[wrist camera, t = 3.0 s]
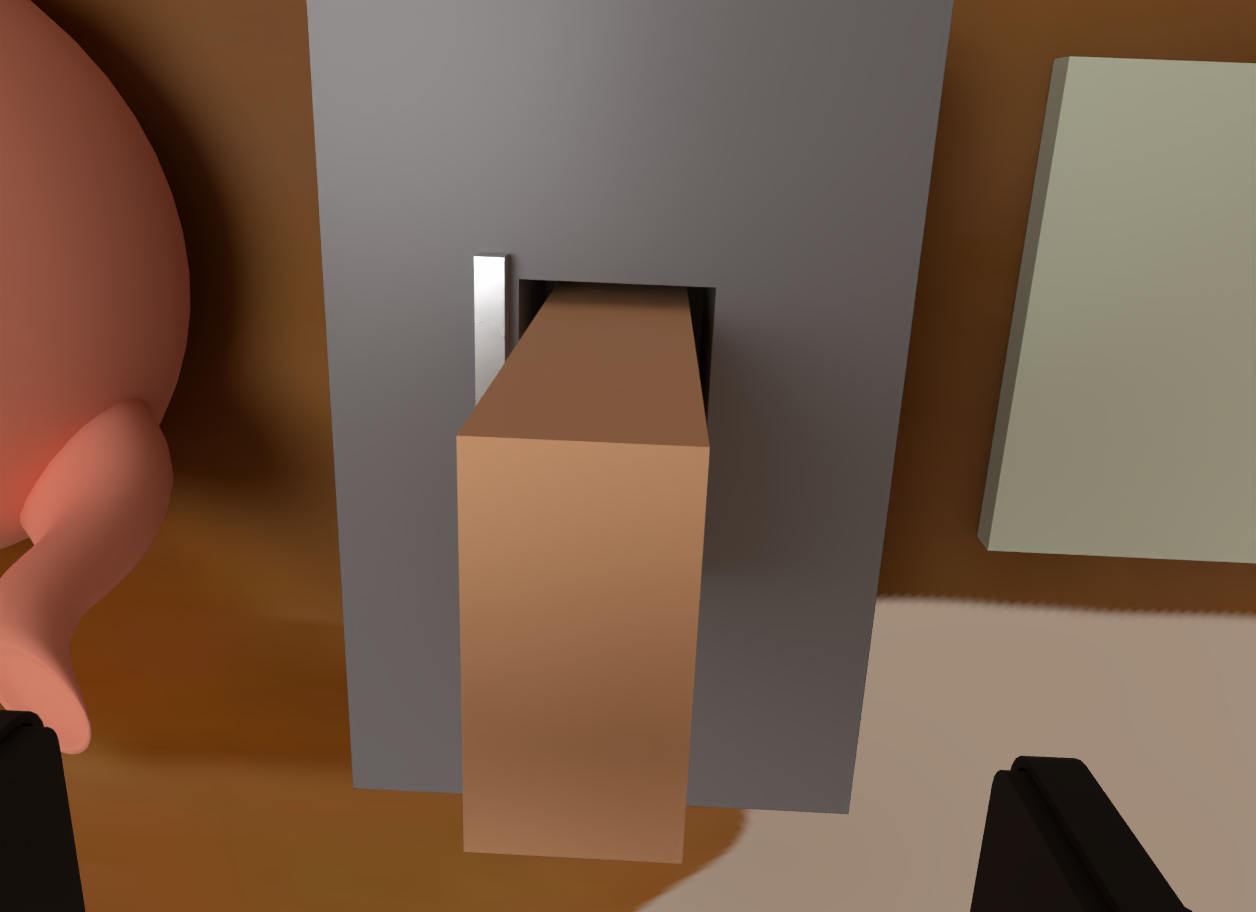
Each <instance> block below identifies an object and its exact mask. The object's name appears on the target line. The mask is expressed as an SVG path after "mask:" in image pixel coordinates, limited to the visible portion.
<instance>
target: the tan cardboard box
mask: <svg viewBox="0 0 1256 912" xmlns="http://www.w3.org/2000/svg"><path fill="white" fill-rule="evenodd" d="M456 441H457V496H458V552H459V607H460V662H461V718H462V773H463V828H464V852H478V853H497V854H515V855H533V856H552V857H570V858H589V859H607V860H626V861H644V862H663V863H681V864H682V856H683V841H684V826H685V811H686V796H687V781H688V766H689V751H690V736H691V721H692V706H693V691H694V676H695V661H696V646H697V631H698V616H699V601H700V587H701V572H702V557H703V542H704V527H705V512H706V497H707V482H708V467H709V452H710V445H709V438H708V431H707V424H706V417H705V411H704V404H703V397H702V390H701V383H700V376H699V369H698V362H697V355H696V348H695V341H694V335H693V328H692V321H691V314H690V307H689V300H688V293H687V286H670V285H646V284H623V283H600V282H576V281H558V283H557V284H556V286H555V287H554V289H553V291H552V292H551V294H550V295H549V297H548V298H547V300H546V301H545V303H544V304H543V306H542V307H541V309H540V310H539V312H538V313H537V315H536V316H535V318H534V319H533V321H532V322H531V324H530V325H529V327H528V328H527V330H526V331H525V333H524V334H523V336H522V337H521V339H520V340H519V342H518V343H517V345H516V346H515V348H514V349H513V351H512V352H511V354H510V355H509V357H508V358H507V360H506V361H505V363H504V365H503V366H502V368H501V369H500V371H499V372H498V374H497V375H496V377H495V378H494V380H493V381H492V383H491V384H490V386H489V387H488V389H487V390H486V392H485V393H484V395H483V396H482V398H481V399H480V401H479V402H478V404H477V405H476V407H475V408H474V410H473V411H472V413H471V414H470V416H469V417H468V419H467V420H466V422H465V423H464V425H463V426H462V428H461V429H460V431H459V432H458V434H457V435H456Z"/></svg>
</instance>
